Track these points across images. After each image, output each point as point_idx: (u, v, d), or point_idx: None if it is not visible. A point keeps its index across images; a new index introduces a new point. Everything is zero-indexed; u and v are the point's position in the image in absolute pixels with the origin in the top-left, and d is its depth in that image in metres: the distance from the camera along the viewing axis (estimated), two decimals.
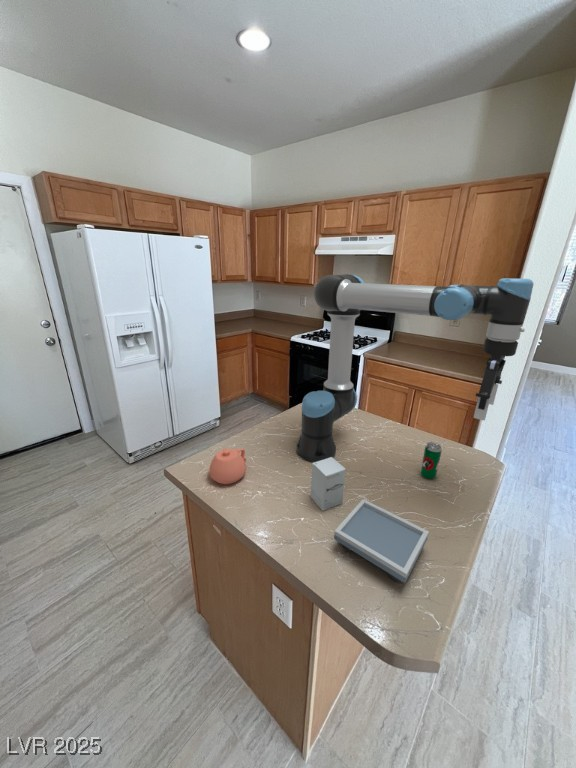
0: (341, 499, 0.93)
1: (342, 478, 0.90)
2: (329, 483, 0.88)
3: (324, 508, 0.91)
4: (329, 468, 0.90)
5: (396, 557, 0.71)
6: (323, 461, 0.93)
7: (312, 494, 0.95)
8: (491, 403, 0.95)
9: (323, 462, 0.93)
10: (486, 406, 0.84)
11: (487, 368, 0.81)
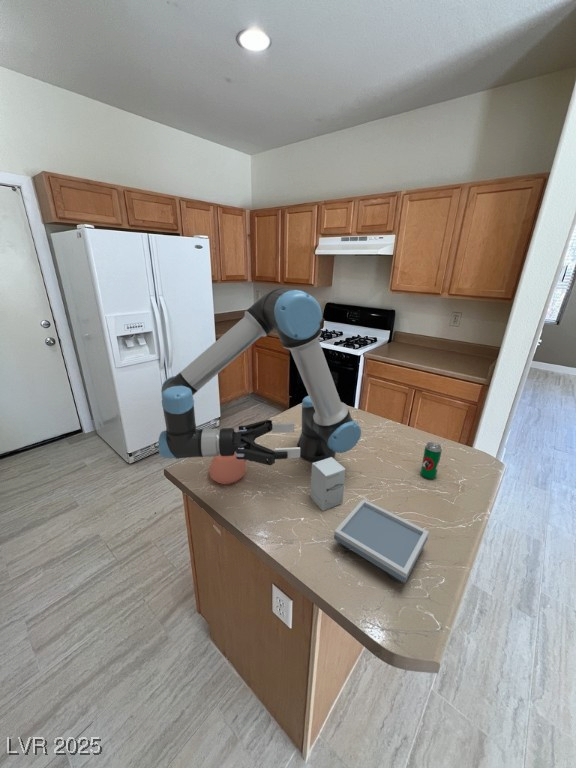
0: (341, 499, 0.93)
1: (342, 478, 0.90)
2: (329, 483, 0.88)
3: (324, 508, 0.91)
4: (329, 468, 0.90)
5: (396, 557, 0.71)
6: (323, 461, 0.93)
7: (312, 494, 0.95)
8: None
9: (323, 462, 0.92)
10: None
11: None
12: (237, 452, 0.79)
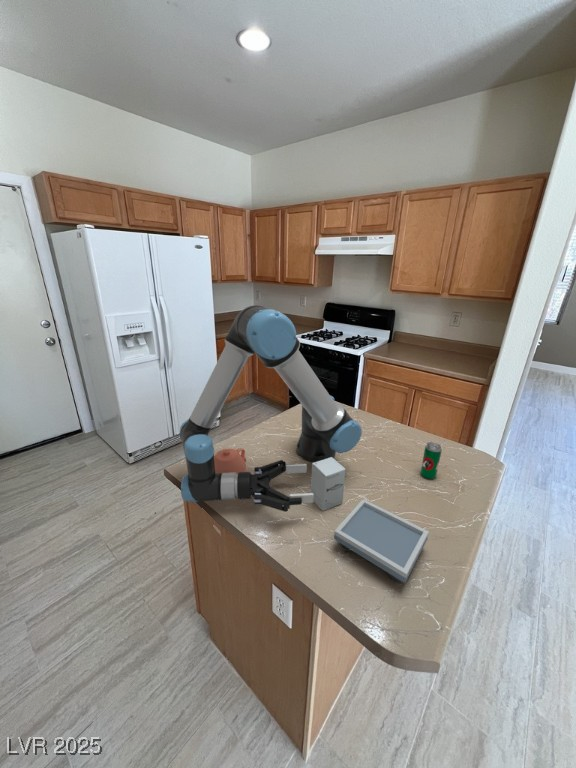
0: (341, 499, 0.93)
1: (342, 478, 0.90)
2: (329, 484, 0.88)
3: (324, 508, 0.91)
4: (329, 468, 0.90)
5: (396, 557, 0.71)
6: (323, 461, 0.93)
7: None
8: None
9: (323, 462, 0.92)
10: None
11: None
12: (254, 498, 0.84)
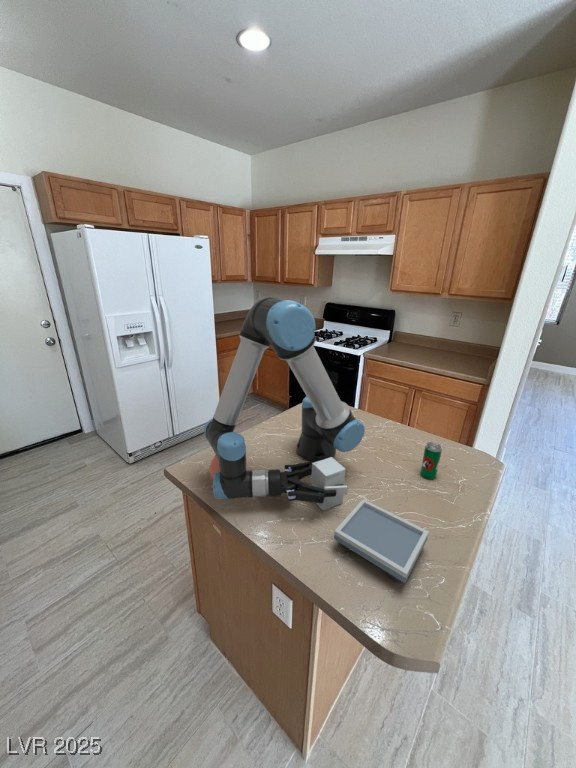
0: (341, 499, 0.93)
1: (342, 478, 0.90)
2: (329, 483, 0.88)
3: (324, 508, 0.91)
4: (329, 468, 0.90)
5: (396, 557, 0.71)
6: (323, 461, 0.93)
7: None
8: None
9: (323, 462, 0.92)
10: None
11: None
12: (289, 495, 0.85)
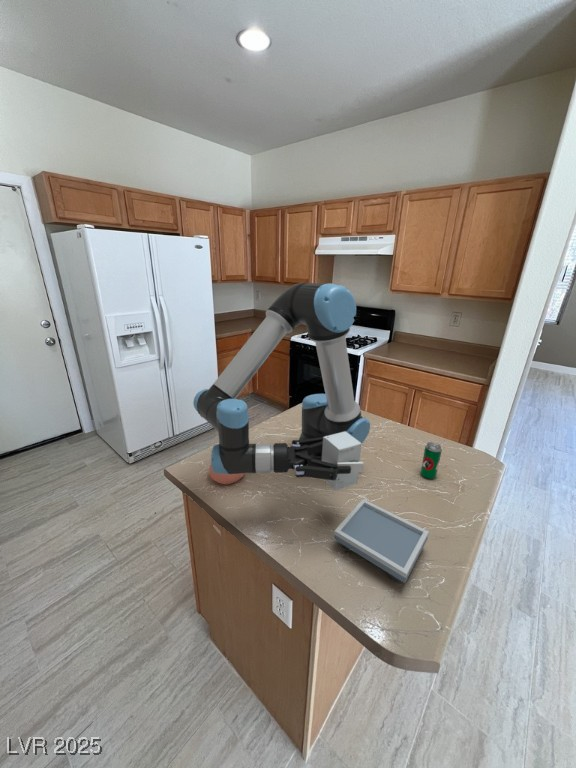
0: (355, 478, 0.82)
1: (357, 454, 0.79)
2: (342, 459, 0.77)
3: (336, 487, 0.80)
4: (342, 442, 0.79)
5: (396, 557, 0.71)
6: (336, 435, 0.82)
7: None
8: None
9: (336, 436, 0.82)
10: None
11: None
12: (297, 470, 0.75)
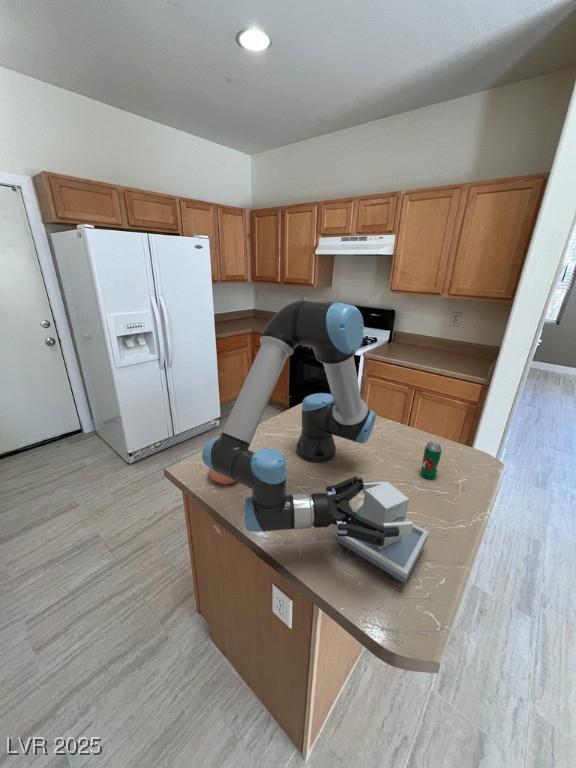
0: (400, 535, 0.75)
1: (404, 510, 0.72)
2: (389, 517, 0.70)
3: (381, 547, 0.73)
4: (388, 498, 0.72)
5: (396, 557, 0.71)
6: (378, 487, 0.75)
7: None
8: None
9: (379, 489, 0.75)
10: None
11: None
12: (340, 528, 0.67)
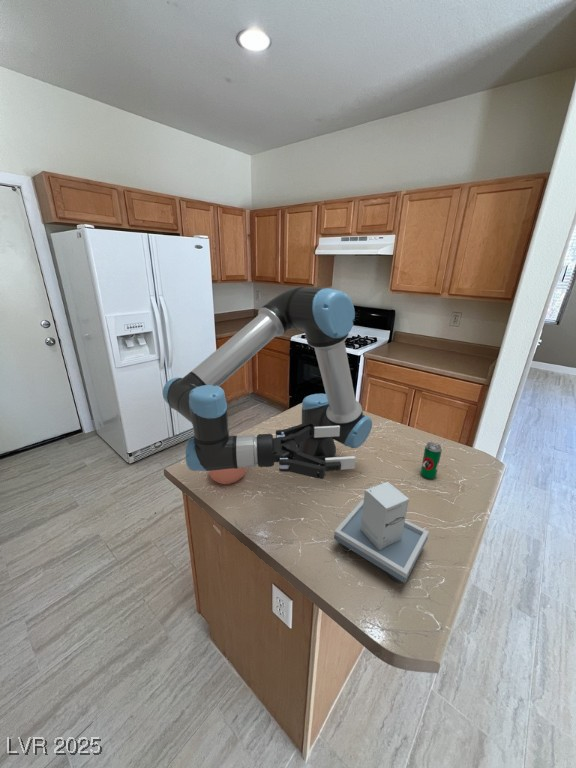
0: (400, 535, 0.75)
1: (404, 510, 0.72)
2: (389, 517, 0.70)
3: (381, 547, 0.73)
4: (388, 498, 0.72)
5: (396, 557, 0.71)
6: (378, 487, 0.75)
7: (363, 527, 0.77)
8: None
9: (379, 489, 0.75)
10: None
11: None
12: (280, 463, 0.66)
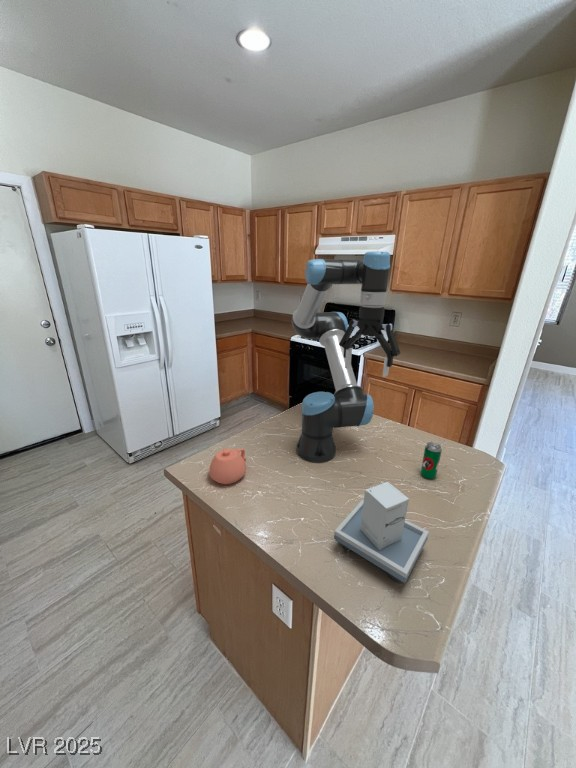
0: (400, 535, 0.75)
1: (404, 510, 0.72)
2: (389, 517, 0.70)
3: (381, 547, 0.73)
4: (388, 498, 0.72)
5: (396, 557, 0.71)
6: (378, 487, 0.75)
7: (363, 527, 0.77)
8: None
9: (379, 489, 0.75)
10: None
11: None
12: (392, 325, 0.94)
